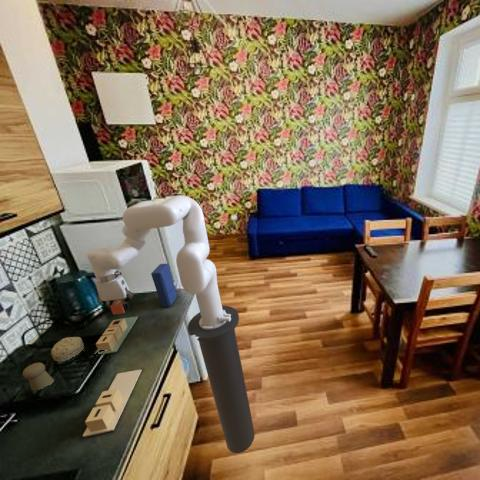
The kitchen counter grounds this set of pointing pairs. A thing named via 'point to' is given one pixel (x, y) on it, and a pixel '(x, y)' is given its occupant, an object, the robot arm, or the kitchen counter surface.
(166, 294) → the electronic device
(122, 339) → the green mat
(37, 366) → the cork
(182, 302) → the kitchen counter surface
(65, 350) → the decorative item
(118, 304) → the letter block
